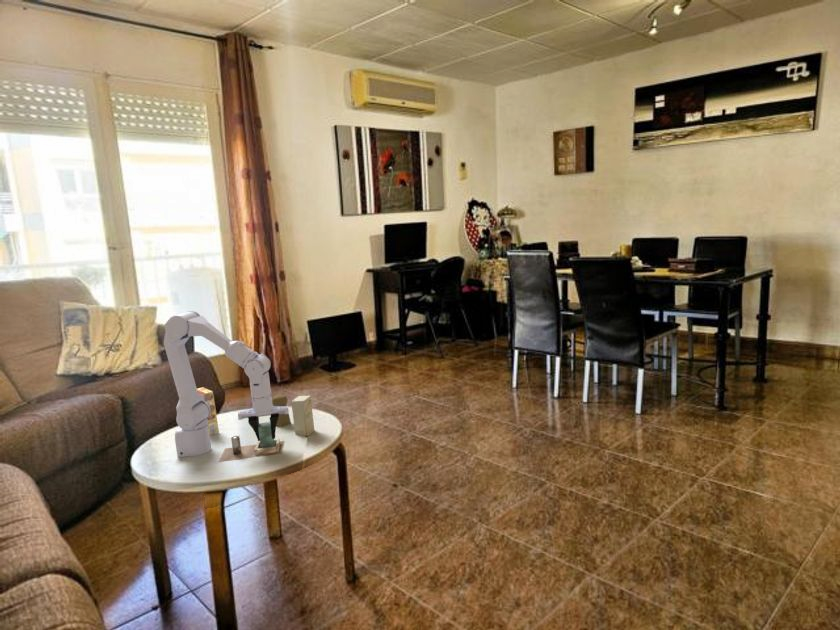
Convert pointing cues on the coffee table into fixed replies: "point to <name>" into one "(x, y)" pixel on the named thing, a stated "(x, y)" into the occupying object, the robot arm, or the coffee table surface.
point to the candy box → (212, 417)
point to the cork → (283, 418)
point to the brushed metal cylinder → (236, 445)
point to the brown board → (253, 451)
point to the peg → (265, 435)
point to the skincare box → (303, 415)
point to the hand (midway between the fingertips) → (266, 438)
